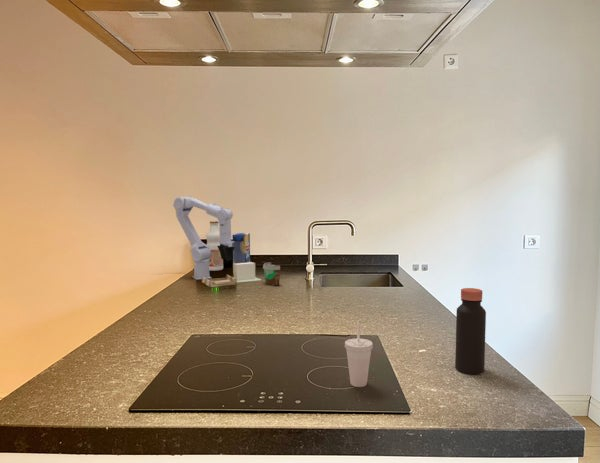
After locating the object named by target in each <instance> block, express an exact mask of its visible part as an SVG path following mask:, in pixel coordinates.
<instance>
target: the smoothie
mask: <svg viewBox="0 0 600 463" xmlns="http://www.w3.org/2000/svg"><path fill="white" fill-rule="evenodd" d="M356 324H357V325H356V326H357V327H356V328H357V329H356V332H357V334H356V338H349V339H347V340H345V341H344V348H345V349H346V356H347V357H346V358H347V366H348V374H349V375H348V376H349V381H350V382H349V383H350V385H351V386H353V387H354V388H355V387H356V388H362V387H366V386H367V383H368V377H369V368H370V361H371V354H372V350H373V348H374V344H373V341H371V340H369V339H367V338H366V339H365V338H361V337H360V336H361V335H360V333H361V332H360V327H361V326H360V325H361V324H360V322H357V323H356Z"/></svg>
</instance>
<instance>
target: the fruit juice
mask: <svg viewBox="0 0 600 463" xmlns="http://www.w3.org/2000/svg"><path fill="white" fill-rule="evenodd" d="M209 225H210V227H209V229H208V232H207V233H206V245H207V247H208V248H209V249H210V250H211V252H212V256H211V258H210V260H209V271H210V272H211V271H212V272H213V271H214V272H215V271H216V272H217V271H222V270H223V269H224V259H222V258H221V254H220V251H219V249H218V247H217V246H220V243H219V241H220V230H219V220H211V221H209Z"/></svg>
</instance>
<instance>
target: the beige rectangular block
mask: <svg viewBox="0 0 600 463" xmlns="http://www.w3.org/2000/svg"><path fill="white" fill-rule="evenodd" d="M255 277H256V262H254V261H253V262H252V261H250V262H249V263H236V264H234V276H233V278H236V279H237V281H238V280H248V279H255Z"/></svg>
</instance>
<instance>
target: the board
mask: <svg viewBox="0 0 600 463" xmlns="http://www.w3.org/2000/svg"><path fill="white" fill-rule="evenodd" d="M256 281H261V282H263V279H261V278H258V277H257V276H255V279H248V280H238V281H237V284H238V283H247V282H248V283H249V282H256Z"/></svg>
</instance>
